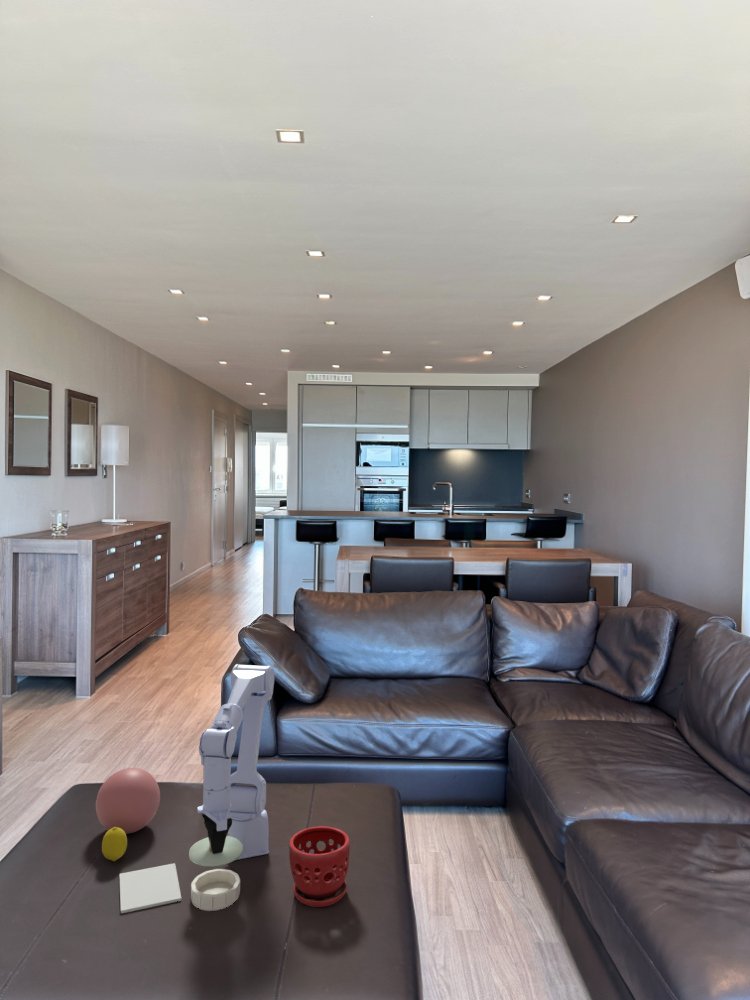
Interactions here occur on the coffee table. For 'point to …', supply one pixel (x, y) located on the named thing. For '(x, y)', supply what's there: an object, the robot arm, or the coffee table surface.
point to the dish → (215, 889)
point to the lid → (205, 857)
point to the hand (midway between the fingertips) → (216, 848)
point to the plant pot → (319, 865)
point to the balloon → (128, 800)
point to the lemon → (114, 843)
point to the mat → (149, 888)
